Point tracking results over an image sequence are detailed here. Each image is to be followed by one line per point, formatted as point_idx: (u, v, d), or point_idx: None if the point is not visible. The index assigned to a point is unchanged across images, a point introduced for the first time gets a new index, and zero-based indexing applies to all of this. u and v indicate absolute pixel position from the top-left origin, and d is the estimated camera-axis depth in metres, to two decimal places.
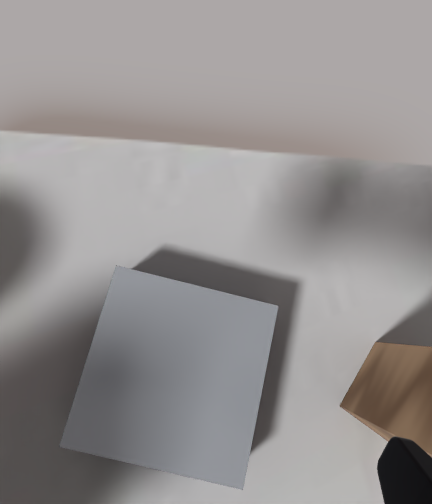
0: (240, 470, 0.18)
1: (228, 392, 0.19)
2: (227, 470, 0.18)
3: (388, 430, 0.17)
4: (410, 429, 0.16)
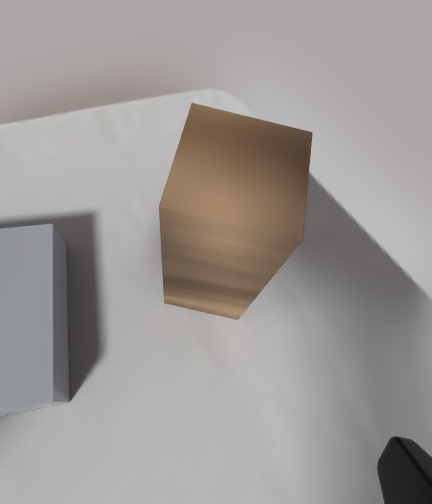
0: (45, 384, 0.17)
1: (15, 316, 0.18)
2: (30, 390, 0.16)
3: (163, 272, 0.17)
4: None
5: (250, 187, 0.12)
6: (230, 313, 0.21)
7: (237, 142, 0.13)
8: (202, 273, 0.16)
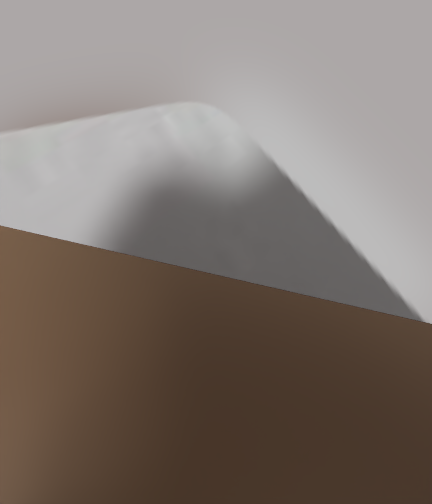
0: None
1: None
2: None
3: None
4: None
5: None
6: None
7: (186, 453, 0.03)
8: None
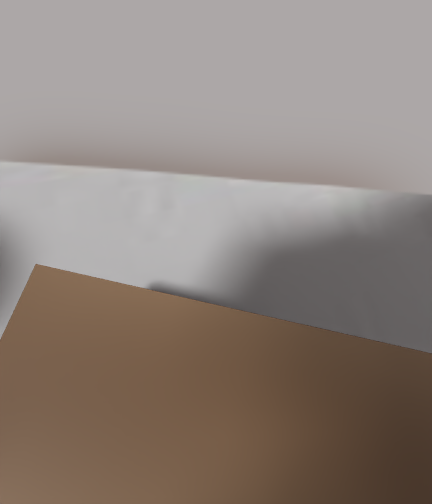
0: None
1: None
2: None
3: None
4: None
5: None
6: None
7: (184, 440, 0.03)
8: None
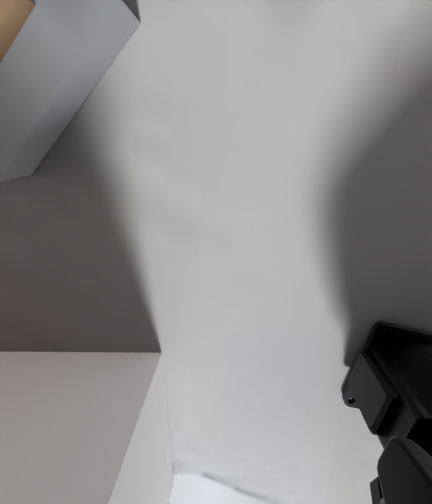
0: None
1: None
2: (92, 7, 0.14)
3: None
4: None
5: None
6: (12, 10, 0.13)
7: None
8: None
